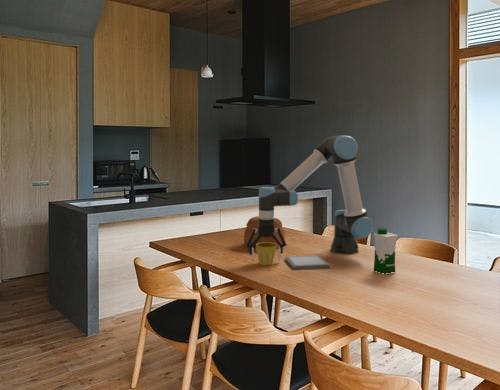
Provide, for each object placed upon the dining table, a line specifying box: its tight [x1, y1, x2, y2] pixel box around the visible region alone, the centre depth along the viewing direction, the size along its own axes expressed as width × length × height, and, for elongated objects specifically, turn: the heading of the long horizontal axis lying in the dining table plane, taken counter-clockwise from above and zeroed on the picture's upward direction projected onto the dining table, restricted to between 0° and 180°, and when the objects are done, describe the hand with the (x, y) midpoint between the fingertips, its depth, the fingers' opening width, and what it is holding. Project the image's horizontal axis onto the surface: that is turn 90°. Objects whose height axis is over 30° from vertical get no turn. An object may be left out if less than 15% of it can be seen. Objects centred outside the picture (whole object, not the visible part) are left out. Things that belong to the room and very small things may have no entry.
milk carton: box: [373, 227, 398, 274], centre depth 207 cm, size 9×9×20 cm
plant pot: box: [255, 242, 278, 266], centre depth 223 cm, size 10×10×10 cm
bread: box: [243, 215, 286, 249], centre depth 261 cm, size 18×22×17 cm
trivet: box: [284, 255, 331, 270], centre depth 223 cm, size 18×18×2 cm
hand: (265, 260), depth 223 cm, fingers open, 13 cm apart
